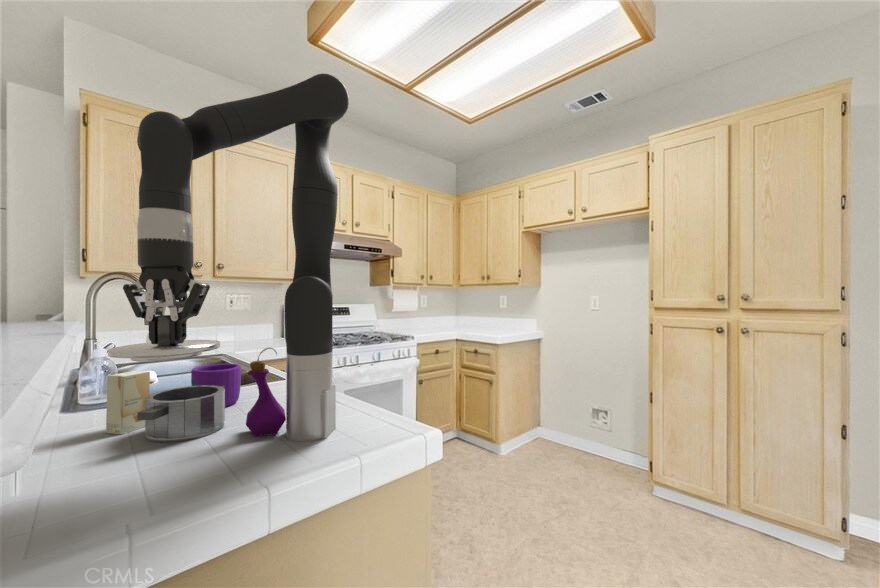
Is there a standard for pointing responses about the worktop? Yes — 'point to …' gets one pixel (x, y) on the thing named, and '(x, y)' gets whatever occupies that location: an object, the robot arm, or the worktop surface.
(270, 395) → the perfume bottle
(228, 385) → the mug
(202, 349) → the lid
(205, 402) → the pot
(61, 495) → the worktop surface
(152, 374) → the garlic
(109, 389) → the skincare box
